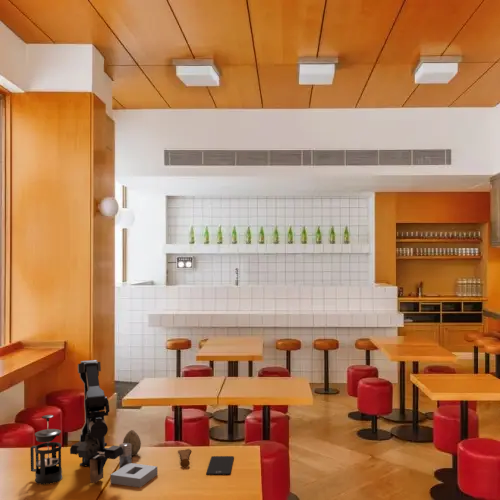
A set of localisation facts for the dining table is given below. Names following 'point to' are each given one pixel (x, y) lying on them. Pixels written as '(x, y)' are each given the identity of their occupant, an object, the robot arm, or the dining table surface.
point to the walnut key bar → (94, 470)
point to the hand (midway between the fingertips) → (96, 474)
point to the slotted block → (134, 475)
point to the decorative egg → (133, 441)
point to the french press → (48, 465)
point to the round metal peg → (125, 454)
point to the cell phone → (220, 465)
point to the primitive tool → (184, 457)
